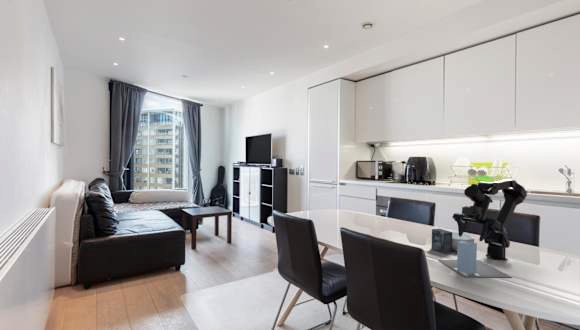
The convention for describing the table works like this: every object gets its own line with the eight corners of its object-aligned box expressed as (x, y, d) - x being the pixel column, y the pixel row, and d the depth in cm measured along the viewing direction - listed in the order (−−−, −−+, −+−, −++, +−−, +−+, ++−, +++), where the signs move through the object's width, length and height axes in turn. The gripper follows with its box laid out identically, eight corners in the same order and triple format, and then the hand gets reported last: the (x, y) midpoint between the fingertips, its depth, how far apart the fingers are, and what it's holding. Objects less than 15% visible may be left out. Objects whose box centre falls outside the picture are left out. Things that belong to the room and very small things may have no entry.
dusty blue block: (463, 268, 121) (464, 240, 121) (476, 272, 116) (476, 243, 116) (456, 270, 118) (457, 241, 118) (469, 274, 114) (470, 245, 114)
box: (431, 249, 149) (431, 229, 149) (439, 248, 150) (440, 228, 150) (443, 253, 141) (443, 232, 141) (452, 252, 143) (452, 231, 143)
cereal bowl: (481, 253, 142) (481, 239, 142) (447, 253, 143) (448, 239, 143) (461, 243, 159) (462, 231, 159) (431, 243, 160) (432, 230, 160)
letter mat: (479, 260, 132) (479, 260, 132) (511, 277, 113) (511, 276, 113) (438, 260, 131) (438, 259, 131) (464, 277, 112) (464, 276, 112)
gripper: (450, 197, 135) (439, 227, 132) (492, 201, 118) (481, 235, 115) (464, 207, 139) (454, 236, 136) (506, 212, 122) (495, 246, 119)
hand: (469, 238), depth 126 cm, fingers open, 9 cm apart
